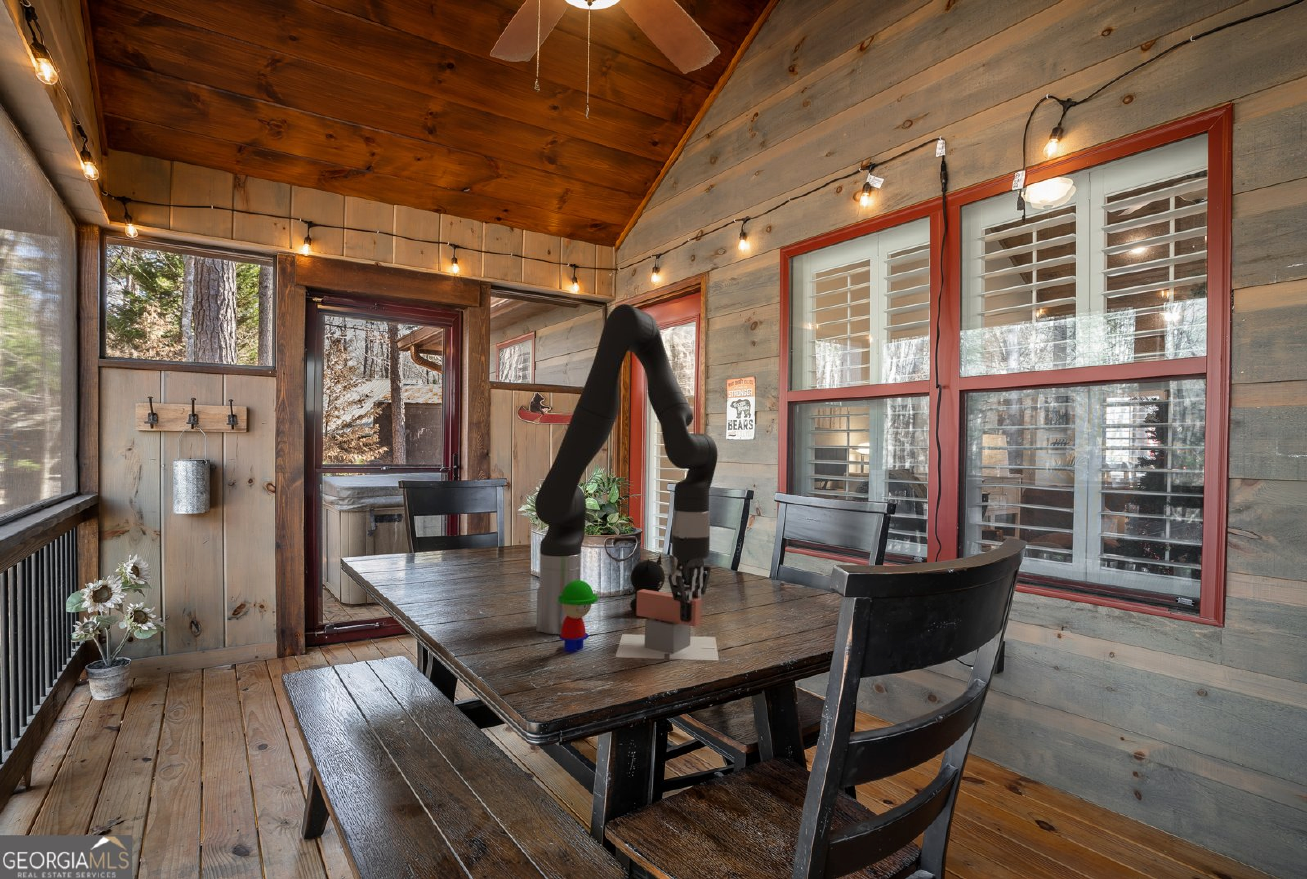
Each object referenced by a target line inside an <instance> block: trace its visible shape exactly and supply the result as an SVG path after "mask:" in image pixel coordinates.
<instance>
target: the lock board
mask: <svg viewBox="0 0 1307 879" xmlns="http://www.w3.org/2000/svg"><path fill="white" fill-rule="evenodd" d="M660 622H664V623H669V624H674V622H668V621H663V620H661V621H660ZM644 647H645V634H623V633H622V635H621V638H620V641H619V644H618V647H617V650H616V654H615V656H614V657H615V658H626V659H627V658H628V659H629V658H630V659H632V658H634V659H655V660H656V659H657V660H659V659H660V660H663V659H664V660H691V661H692V660H693V661H718V662H719V661H720V660H719V654H718V647H717V640H716V636H694V635H693V636H692V635H690V646H688V647H686V648H684V649H682V650H680V651H678V652H676V653H674V654H671V653H666V652H662V651H657V650H653V649H649V648H644Z"/></svg>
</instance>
